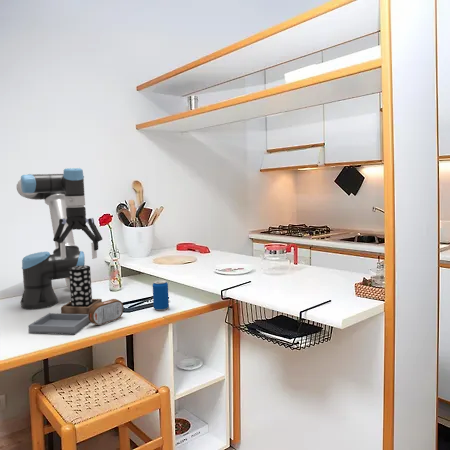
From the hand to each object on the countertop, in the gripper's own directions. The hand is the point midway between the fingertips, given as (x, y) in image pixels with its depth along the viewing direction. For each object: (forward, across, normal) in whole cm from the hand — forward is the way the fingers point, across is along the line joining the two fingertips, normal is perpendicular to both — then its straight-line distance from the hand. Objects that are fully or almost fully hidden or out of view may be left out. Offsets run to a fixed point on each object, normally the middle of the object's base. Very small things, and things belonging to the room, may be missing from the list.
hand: (79, 258), depth 174 cm
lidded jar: (+24, -23, +39) cm, 52 cm away
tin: (+24, +14, -7) cm, 29 cm away
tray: (+24, -1, -15) cm, 28 cm away
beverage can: (+24, +31, +10) cm, 40 cm away
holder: (+24, 0, 0) cm, 24 cm away
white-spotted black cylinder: (+24, 0, 0) cm, 24 cm away
